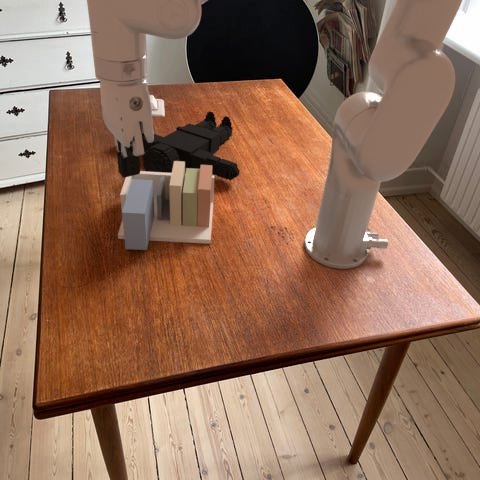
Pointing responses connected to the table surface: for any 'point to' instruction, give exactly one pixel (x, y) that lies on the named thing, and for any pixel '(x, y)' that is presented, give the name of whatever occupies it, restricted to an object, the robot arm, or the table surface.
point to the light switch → (157, 107)
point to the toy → (191, 148)
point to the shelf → (165, 225)
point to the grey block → (138, 214)
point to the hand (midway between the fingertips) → (129, 173)
